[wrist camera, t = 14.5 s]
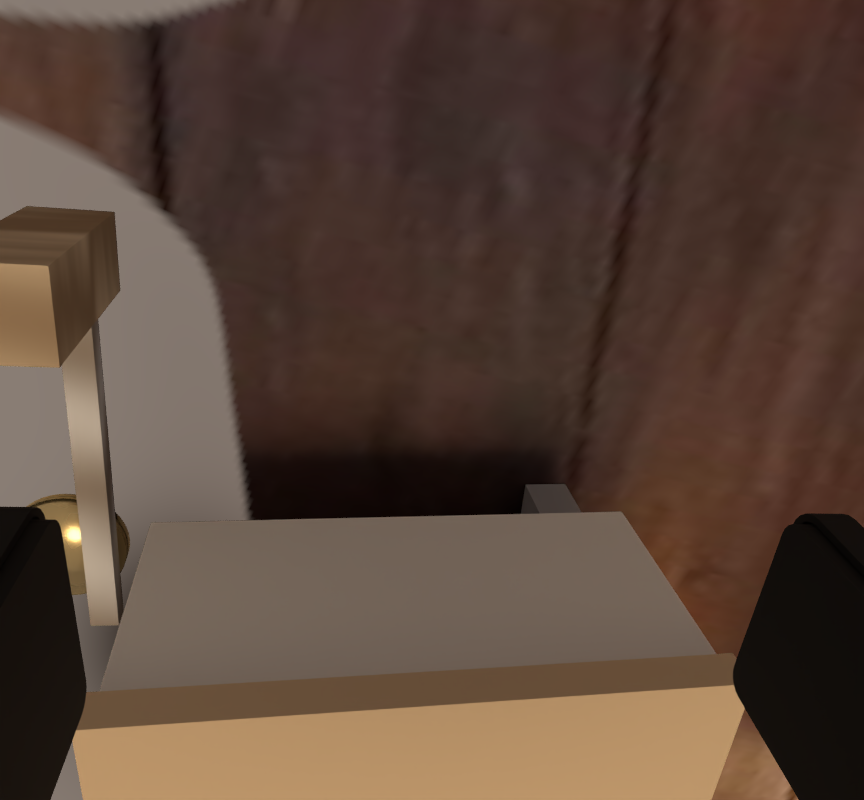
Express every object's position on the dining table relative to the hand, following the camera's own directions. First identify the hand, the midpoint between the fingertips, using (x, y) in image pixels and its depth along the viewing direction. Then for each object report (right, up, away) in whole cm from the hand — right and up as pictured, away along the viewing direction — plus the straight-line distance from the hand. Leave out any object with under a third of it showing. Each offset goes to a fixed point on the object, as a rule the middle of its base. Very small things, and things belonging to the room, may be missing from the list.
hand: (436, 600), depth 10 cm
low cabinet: (-3, -6, +27) cm, 28 cm away
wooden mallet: (-14, +1, +21) cm, 26 cm away
